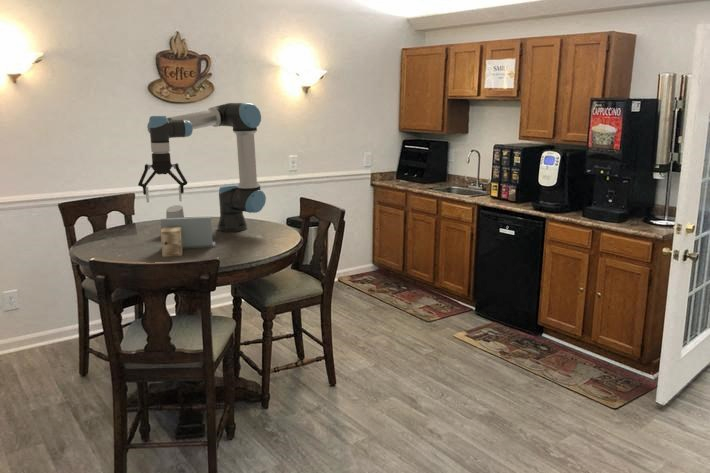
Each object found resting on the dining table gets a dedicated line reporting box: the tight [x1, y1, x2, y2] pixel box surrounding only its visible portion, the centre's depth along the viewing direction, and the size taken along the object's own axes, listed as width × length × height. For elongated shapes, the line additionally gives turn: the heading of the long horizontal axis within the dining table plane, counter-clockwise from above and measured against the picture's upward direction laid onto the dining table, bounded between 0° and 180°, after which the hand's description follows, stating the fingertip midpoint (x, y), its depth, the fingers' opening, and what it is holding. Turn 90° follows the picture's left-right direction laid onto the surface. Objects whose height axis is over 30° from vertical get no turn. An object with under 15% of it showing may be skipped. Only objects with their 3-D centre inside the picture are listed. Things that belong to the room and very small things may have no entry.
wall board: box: [160, 216, 216, 251], centre depth 270 cm, size 24×6×14 cm, turn 102°
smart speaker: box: [165, 204, 185, 219], centre depth 296 cm, size 10×9×14 cm
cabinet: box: [160, 226, 184, 258], centre depth 259 cm, size 8×11×11 cm
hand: (164, 201), depth 255 cm, fingers open, 13 cm apart
